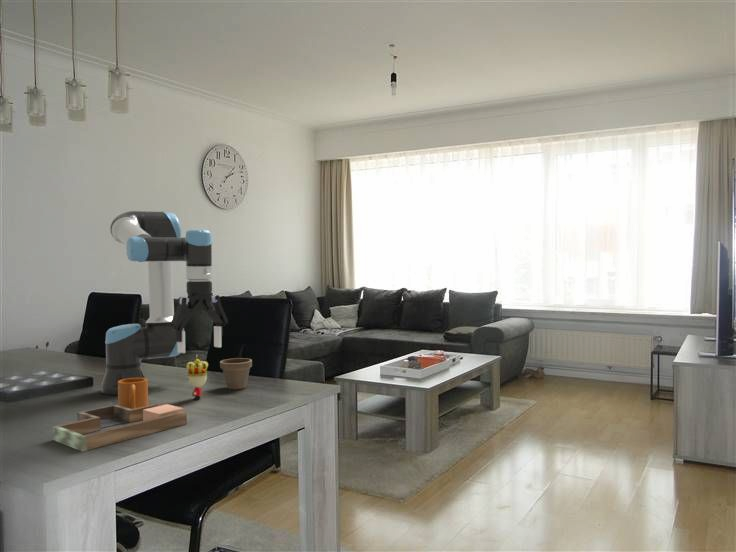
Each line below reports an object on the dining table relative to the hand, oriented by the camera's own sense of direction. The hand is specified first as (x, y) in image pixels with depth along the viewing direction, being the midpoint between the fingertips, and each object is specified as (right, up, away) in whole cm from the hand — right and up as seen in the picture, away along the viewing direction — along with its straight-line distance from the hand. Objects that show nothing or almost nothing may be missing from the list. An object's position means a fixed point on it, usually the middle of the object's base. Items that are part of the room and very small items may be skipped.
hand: (200, 349), depth 182 cm
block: (-8, -20, -9) cm, 24 cm away
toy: (-6, -19, +18) cm, 27 cm away
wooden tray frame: (-19, -20, -16) cm, 32 cm away
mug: (-23, -20, +5) cm, 30 cm away
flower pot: (+3, -18, +35) cm, 40 cm away
